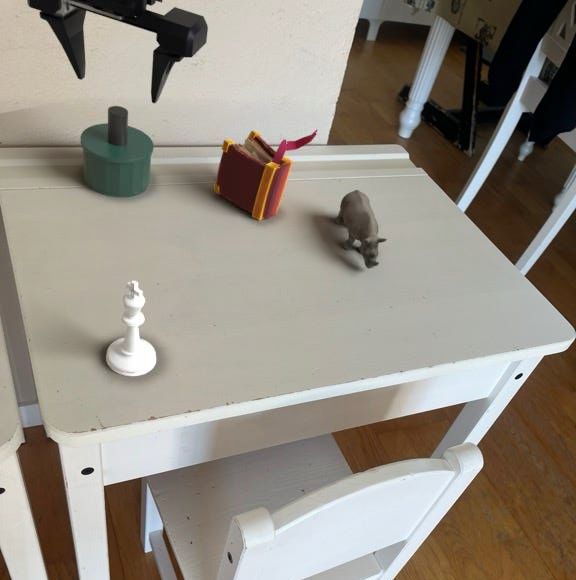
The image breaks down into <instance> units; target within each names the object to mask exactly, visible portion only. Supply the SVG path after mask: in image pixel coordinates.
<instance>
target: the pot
mask: <svg viewBox="0 0 576 580" xmlns="http://www.w3.org/2000/svg"><path fill="white" fill-rule="evenodd" d="M151 167H152V155H151V156H150V157H149V158H147V159H145V160H143V161H140V162H137V163H129V164H121V163H112V162H107V161H104V160H101V159H98V158H96V157H94V156H92V155H90V154H89V153H88V152H86V151H85V150H84V148H83V147H82V171H83V178H84V181H85V183H86V185H87V186H88V187H89V188H90V189H92V190H93V191H95V192H97V193H99V194H101V195H104V196H108V197H111V198H112V197H113V198H132V197H135V196H136V197H137V196H139V195H142V194H143V193H144V192H146V191H147V190H148V188H149V187H150V180H151Z"/></svg>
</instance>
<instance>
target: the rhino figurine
mask: <svg viewBox="0 0 576 580" xmlns="http://www.w3.org/2000/svg"><path fill="white" fill-rule="evenodd" d="M334 222H335V223H336V224H337V225H344V226H345V228H347V233H348V239H347V240H346V241H344V242H343V243H342V247H343V248H344V249H345V250H346V251H351V250H353V244H354V243H355V242H356V241H359V243H360V246H359V247H358V251H359V253H360V254H361V256H362V258H363V261H364V265H365V267H366V269H372V268H374V267H378V266H379V264H380V261H377V258H378V255H379V244H380V243H385V242H386V241H387V240H388V239H387V238H383V237H379V235H378V234H379V230H380V229H379V223H378V221H377V219H376V217H375V214H374V210H373V208H372V206H371V204H370V198H369V197H368V195H367V194H366V193H364V192H362V191H361V190H359V189H354V190H353V191H350V192H348V193H346V194H345V195H344V196H343V197H342V199H341V201H340V205H339V211H338V214H337V216H335V218H334Z"/></svg>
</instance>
